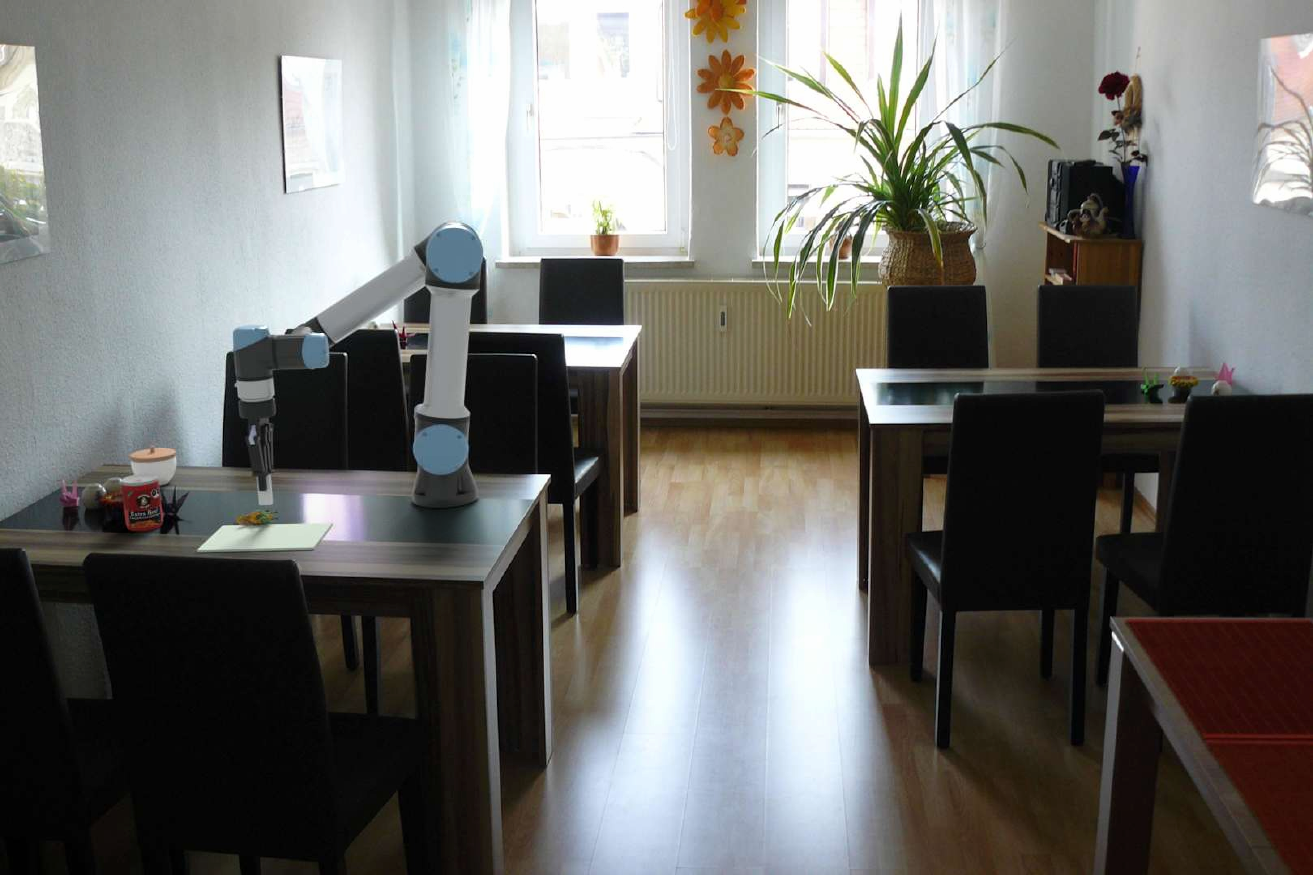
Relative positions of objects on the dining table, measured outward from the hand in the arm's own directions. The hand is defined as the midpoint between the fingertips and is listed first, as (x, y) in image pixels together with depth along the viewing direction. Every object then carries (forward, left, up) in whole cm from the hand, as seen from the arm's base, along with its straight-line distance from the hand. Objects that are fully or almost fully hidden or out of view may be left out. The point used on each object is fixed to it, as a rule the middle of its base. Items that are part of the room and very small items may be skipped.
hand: (266, 503), depth 280 cm
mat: (-2, +8, -5) cm, 10 cm away
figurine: (+1, -5, -4) cm, 6 cm away
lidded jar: (+39, -40, -6) cm, 56 cm away
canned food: (+28, -3, -6) cm, 29 cm away
